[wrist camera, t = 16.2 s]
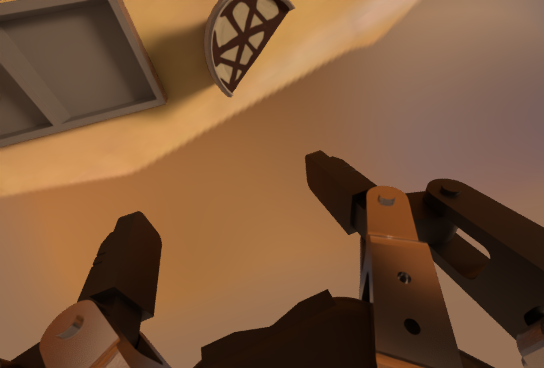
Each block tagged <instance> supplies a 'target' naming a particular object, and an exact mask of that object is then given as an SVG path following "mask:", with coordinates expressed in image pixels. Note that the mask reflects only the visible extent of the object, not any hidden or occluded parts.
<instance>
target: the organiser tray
mask: <svg viewBox="0 0 544 368" xmlns="http://www.w3.org/2000/svg"><path fill="white" fill-rule="evenodd" d="M0 95H1V100H0V147H3V146H7V145H11V144H15V143H19V142H22V141H26V140H30V139H34V138H38V137H42V136H45V135H49V134H53V133H57V132H61V131H64V130H68V129H72V128H76V127H80V126H84V125H87V124H91V123H95V122H99V121H103V120H106V119H110V118H114V117H118V116H122V115H125V114H129V113H133V112H137V111H141V110H145V109H148V108H152V107H156V106H160V105H164V104H166V102H167V99H168V98H167V96H166V94H165V91H164V89H163V87H162V85H161V83H160V81H159V78H158V76H157V74H156V72H155V70H154V68H153V65H152V63H151V61H150V59H149V57H148V55H147V52H146V50H145V48H144V46H143V44H142V42H141V39H140V37H139V35H138V33H137V31H136V28H135V26H134V24H133V22H132V20H131V18H130V15H129V13H128V11H127V9H126V7H125V5H124V2H123V0H16V1H10V2H4V3H0Z"/></svg>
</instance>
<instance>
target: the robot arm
mask: <svg viewBox="0 0 544 368" xmlns="http://www.w3.org/2000/svg"><path fill="white" fill-rule="evenodd" d="M305 163H306V174H307V182H308V185H309V188H310V189H311V191H312V192H313V193H314V194H315V196H316V197H317V198H318V199H319V201H320V202H321V203H322V204H323V205H324V206H325V208H326V209H327V210H328V211H329V212H330V214H331V215H332V216H333V217H334V218H335V219H336V220H337V222H338V223H339V224H340V225H341V227H342V228H343V229H344V230H345V231H346V233H347V234H348V235H350V234H352V233H355V232H358V233H359V234H360V235H361V237H360V287H359V288H360V289H359V299H355V298H350V297H332V296H331V294H330V293H329V291H328V289H327V290H325V291H323V292H320V293H318V294H316V295H314V296H312V297H310V298H307V299H305V300H303V301H301V302H299V303H298V304H297V305H295V306H294V307H293V308H292V309H291V310H290V311H288V312H287V313H286V314H285V315H284V316H283V317H281V318H280V319H279V320H278V321H277V322H276V323H275V324H273V325H272V326H270V327H265V328H259V329H252V330H246V331H239V332H234V333H232V334H230V335H227V336H225V337H223V338H221V339H219V340H217V341H214V342H212V343H210V344H208V345H206V346H204V347H201V353H202V354H201V355H202V360H201V361H200V362H198V363H197V364H196V365H195V366H194V367H193V368H494V367H492V366H490V365H488V364H487V363H484V362H483V361H481V360H479V359H477V358H475V357H473V356H471V355H469V354H467V353H465V352H463V351H461V350H460V349H458V347H457V344H456V340H455V337H454V333H453V329H452V326H451V322H450V319H449V315H448V312H447V308H446V305H445V302H444V298H443V294H442V291H441V287H440V284H439V281H438V277H437V273H436V270H435V266H434V262H435V263H436V264H437V265H438V266H439V267H440V268H441V269H442V270H444V272H446V273H447V274H448V275H449V276H450V277H451V278H452V279H453V280H454V281H455V282H456V283H457V284H458V285H459V286H460V287H461V288H462V289H463V290H464V291H465V292H466V293H467V294H468V295H469V296H471V297H472V298H473V299H474V300H475V301H476V302H477V303H478V304H479V305H480V306H481V307H482V308H483V309H484V310H485V311H486V312H487V313H488V314H489V315H490V316H491V317H492V318H493V319H494V320H496V322H498V323H499V324H500V325H501V326H502V327H503V328H504V329H505V330H506V331H507V332H508V333H509V334H510V335H511V336H512V337H513V338H514V339H515V340H516V343H517V347H518V350H519V352H520V354H521V356H522V360H521V361H522V364H523V366H524V368H544V227H542V226H540V225H538V224H536V223H535V222H533V221H531V220H529V219H528V218H526V217H524V216H522V215H520V214H518V213H517V212H515V211H513V210H511V209H509V208H508V207H506V206H504V205H502V204H500V203H498V202H497V201H495V200H493V199H491V198H490V197H488V196H486V195H484V194H482V193H481V192H479V191H477V190H475V189H473V188H472V187H470V186H468V185H466V184H464V183H462V182H459V181H456V180H451V179H435V180H432V181H431V182H429V183H428V185H427V188H426V191H422V192H414V193H404V192H402V191H401V190H399V189H397V188H394V187H390V186H377V185H375V184H374V183H373V182H371V181H370V180H369V179H367V178H366V177H365V176H363V175H362V174H361V173H359V172H358V171H356V170H355V169H354V168H353V167H351V166H350V165H349V164H348V163H346V162H345V161H344V160H342V159H339V158H336V157H333V156H332V157H329V156H327V155H326V154H325V153H324V152H322V151H321V150H319V151H316V152H313V153H310V154H308V155H306V156H305ZM458 228H460V229H461V230H462V231H464V232H465V233H466V234H468V235H469V236H470V237H472V238H473V239H475V240H476V241H477V242H479V243H480V244H481V245H483V246H484V247H485V248H486V249H487V251H488V252H489V254H490V259H489V258H488V257H487V256H485V255H484V254H483V253H481V252H480V251H479V250H477V249H476V248H475V247H473V246H472V245H471V244H470V243H468V242H467V241H466V240H464V239H463V238H462V237H460V236H459V235H458V234H457V233H456V231H457V229H458ZM161 248H162V242H161V238H160V235H159V234H158V232H157V231H156V230H155V228H154V227H153V226H152V224H151V223H150V222H149V221H148V219H147V218H146V217H145V216H144V214H143V213H142V212H140V211H137V212H134V213H132V214H128V215H125V216H123V217H120V218H119V219H118V221H117V224H116V226H115V229H114V231H113V232H111V233H110V234H109V235H108V236H107V238H106V239H105V240H104V241H103V243H102V244H101V246H100V248H99V251H98V253H97V257H96V258H95V260H94V262H93V267H92V268H91V270H90V272H89V274H88V277H87V279H86V282H85V284H84V287H83V289H82V292H81V294H80V296H79V298H78V301H77V303H75V304H73V305H71V306H70V307H68V308H67V309H66V310H64V311H63V312H62V313H61V314H59V315H58V316H57V317H56V318H55V319H54V320H53V321H52V323H51V324H50V325H49V326H48V328H47V329H46V331H45V333H44V334H43V336H42V338H41V341H40V342H39V343H37V344H36V345H34V346H33V347H31V348H30V349H28V350H27V351H25V352H24V353H22V354H21V355H19V356H17V357H16V358H15V359H13V360H11V361H8V360H4V359H1V358H0V368H171V367H170V365H169V364H168V363H167V362H166V361H165V360H164V358H163V357H162V356H161V355H160V353H159V352H158V351H157V350H156V349H155V347H154V346H153V345H152V344H151V343H150V341H149V340H148V339H147V338H146V336H145V335H144V334H143V333H142V332H141V331H140V324H141V322H142V321H144V320H147V319H149V318H151V317H153V316H154V309H155V300H156V292H157V283H158V274H159V266H160V257H161ZM433 261H434V262H433Z"/></svg>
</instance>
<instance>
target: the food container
mask: <svg viewBox="0 0 544 368" xmlns="http://www.w3.org/2000/svg"><path fill="white" fill-rule="evenodd" d="M292 9H295V7H294V5H293V4H292V3H291V1H290V0H219V1H218V2H217V3H216V5H215V6H214V8H213V9H212V11H211V14H210V16H209V18H208V21H207V25H206V28H205V36H204V51H205V58H206V62H207V65H208V69H209V71H210V73H211V76H212V78H213V79H214V81H215V83H216V84H217V86H218V87H219V88H220V89H221V91H222V92H223V93H224V94H225V95H226V96H227V97H232V96H233V91H234V90H235V89H236V87H237V85H238V84H239V82H240V81H241V79H242V78H243V76H244V75H245V74H246V72H247V71H248V69H249V68H250V67H251V65H252V64H253V63H254V61H255V60H256V59H257V57H258V56H259V54H260V53H261V52H262V50H263V48H264V47H265V45H266V44H267V42H268V41H269V39H270V38H271V36H272V35H273V33H274V32H275V30H276V29H277V27H278V26H279V25H280V23H281V22H282V20H283V19H284V17H285V16H286V14H287V13H288V11H290V10H292Z"/></svg>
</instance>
